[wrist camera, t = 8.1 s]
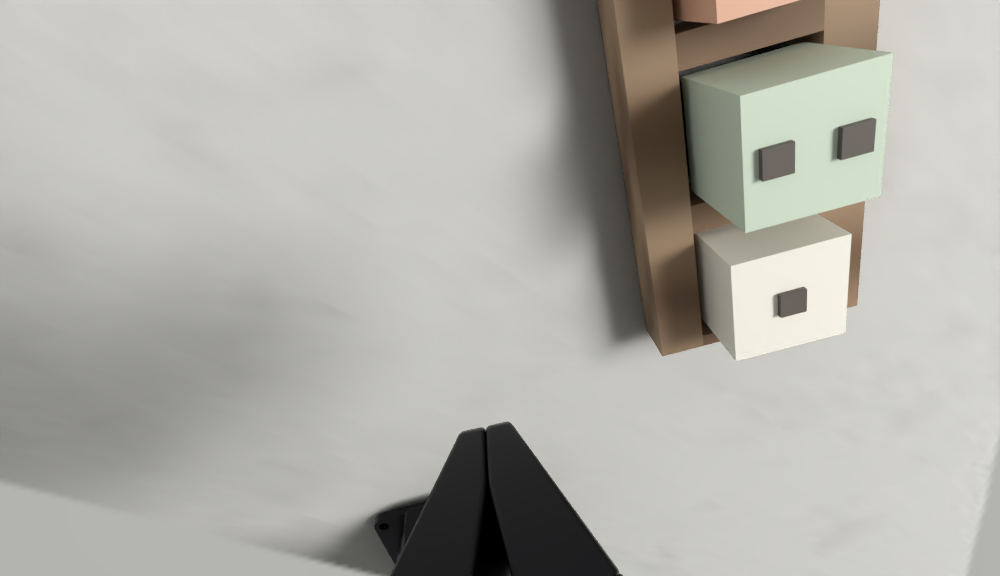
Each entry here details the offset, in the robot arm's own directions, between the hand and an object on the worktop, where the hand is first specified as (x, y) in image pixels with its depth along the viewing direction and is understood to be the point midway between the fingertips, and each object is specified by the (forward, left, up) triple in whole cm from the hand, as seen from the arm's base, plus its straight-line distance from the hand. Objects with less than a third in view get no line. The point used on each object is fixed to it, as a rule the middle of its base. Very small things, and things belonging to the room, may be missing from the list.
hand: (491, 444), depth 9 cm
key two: (0, -10, -12) cm, 15 cm away
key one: (-5, -10, -13) cm, 17 cm away
